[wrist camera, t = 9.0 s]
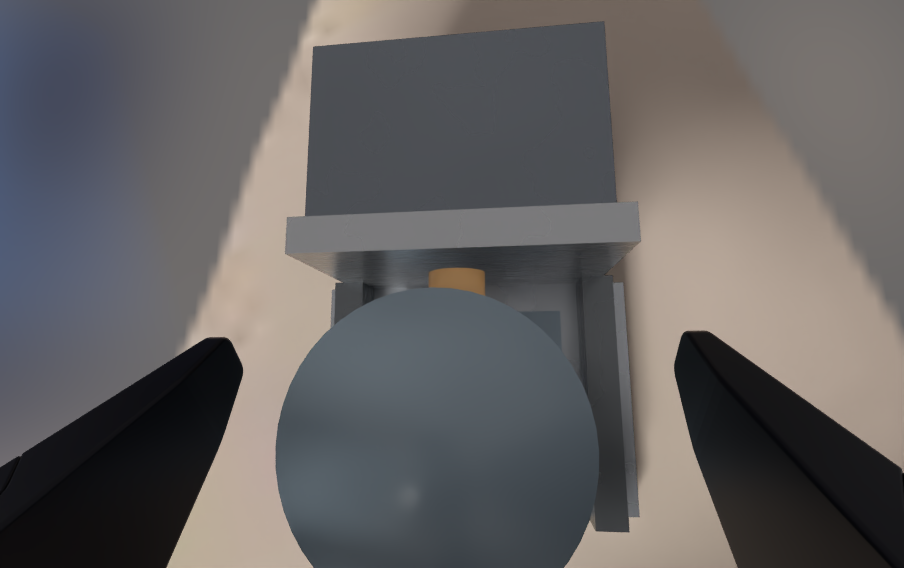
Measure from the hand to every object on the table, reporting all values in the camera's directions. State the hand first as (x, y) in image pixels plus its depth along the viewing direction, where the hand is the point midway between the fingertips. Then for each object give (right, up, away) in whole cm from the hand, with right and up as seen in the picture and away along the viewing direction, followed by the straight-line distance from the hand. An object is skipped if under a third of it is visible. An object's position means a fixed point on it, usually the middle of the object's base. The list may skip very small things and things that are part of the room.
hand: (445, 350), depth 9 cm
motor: (+1, +1, +9) cm, 9 cm away
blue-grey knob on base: (+1, -3, +8) cm, 8 cm away
